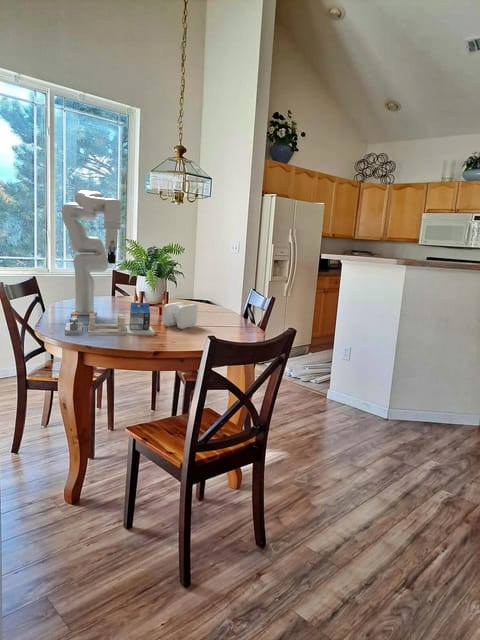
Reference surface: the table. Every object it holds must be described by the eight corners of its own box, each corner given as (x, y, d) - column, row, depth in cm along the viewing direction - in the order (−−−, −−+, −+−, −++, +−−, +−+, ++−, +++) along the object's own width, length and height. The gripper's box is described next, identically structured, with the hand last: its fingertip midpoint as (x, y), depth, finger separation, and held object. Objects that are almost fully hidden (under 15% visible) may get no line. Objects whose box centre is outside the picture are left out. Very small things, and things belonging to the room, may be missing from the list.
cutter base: (66, 326, 208) (66, 318, 207) (82, 327, 210) (82, 318, 210) (64, 334, 194) (64, 325, 193) (82, 334, 196) (82, 325, 196)
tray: (125, 327, 216) (125, 326, 216) (150, 327, 220) (150, 326, 220) (127, 334, 203) (127, 332, 203) (154, 334, 207) (154, 333, 207)
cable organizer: (178, 330, 220) (179, 307, 217) (161, 326, 225) (162, 303, 223) (196, 326, 232) (198, 304, 230) (180, 322, 237) (181, 301, 235)
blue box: (130, 330, 208) (130, 304, 206) (129, 328, 212) (130, 302, 210) (149, 330, 211) (150, 304, 209) (148, 328, 215) (149, 303, 212)
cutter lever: (71, 320, 210) (71, 312, 209) (78, 320, 211) (78, 312, 210) (69, 327, 196) (69, 318, 195) (77, 327, 197) (77, 318, 196)
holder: (88, 326, 212) (88, 312, 210) (123, 327, 217) (123, 312, 215) (88, 335, 197) (88, 319, 195) (125, 335, 202) (126, 319, 201)
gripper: (103, 225, 217) (102, 260, 220) (104, 225, 201) (103, 263, 204) (119, 226, 220) (118, 261, 223) (121, 226, 204) (120, 264, 207)
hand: (111, 262), depth 214 cm, fingers open, 9 cm apart
